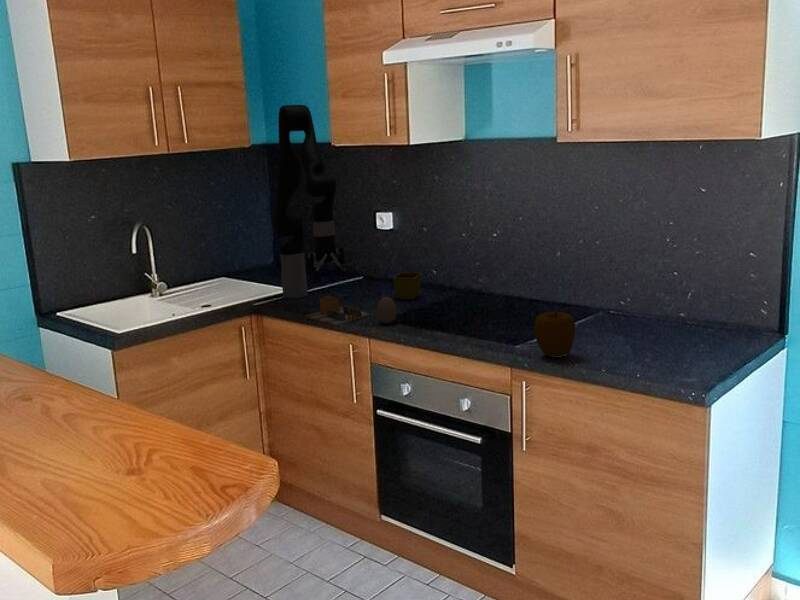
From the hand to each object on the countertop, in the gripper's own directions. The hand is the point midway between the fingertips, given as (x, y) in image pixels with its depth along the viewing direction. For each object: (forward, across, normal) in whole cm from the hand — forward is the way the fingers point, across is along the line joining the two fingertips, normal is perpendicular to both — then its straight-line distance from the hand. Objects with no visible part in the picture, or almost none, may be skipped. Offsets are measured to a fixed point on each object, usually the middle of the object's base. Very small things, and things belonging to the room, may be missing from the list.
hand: (327, 279), depth 282 cm
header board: (+13, 0, +5) cm, 14 cm away
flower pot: (+13, -33, +4) cm, 36 cm away
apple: (+11, -13, +91) cm, 93 cm away
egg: (+12, -5, +26) cm, 30 cm away
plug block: (+12, 0, 0) cm, 12 cm away
